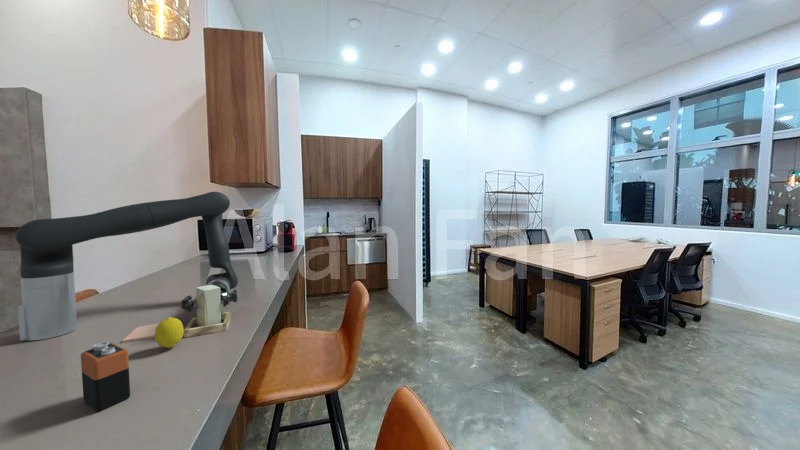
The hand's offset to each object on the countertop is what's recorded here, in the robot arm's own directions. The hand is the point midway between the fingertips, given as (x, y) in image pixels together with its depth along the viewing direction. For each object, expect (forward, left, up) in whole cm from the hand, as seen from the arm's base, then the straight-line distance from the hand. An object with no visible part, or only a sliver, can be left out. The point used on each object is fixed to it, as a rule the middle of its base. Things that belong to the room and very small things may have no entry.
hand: (207, 305), depth 79 cm
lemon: (-7, -9, -7) cm, 13 cm away
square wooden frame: (0, +2, -7) cm, 7 cm away
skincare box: (0, +2, -7) cm, 7 cm away
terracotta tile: (-14, +6, -7) cm, 17 cm away
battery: (-11, -28, -7) cm, 31 cm away
